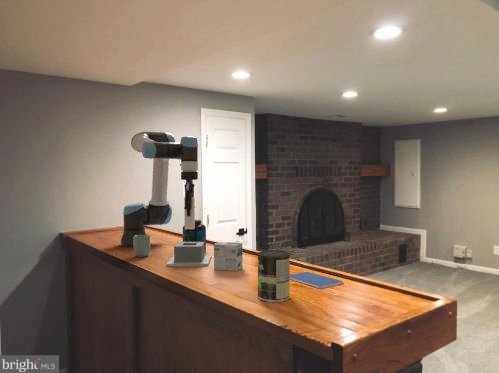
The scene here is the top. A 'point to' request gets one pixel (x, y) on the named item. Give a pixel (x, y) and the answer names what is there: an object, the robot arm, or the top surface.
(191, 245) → the socket block
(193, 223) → the peg
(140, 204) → the robot arm
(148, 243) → the cup
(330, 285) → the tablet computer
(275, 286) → the coffee can
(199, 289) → the top surface
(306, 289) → the top surface
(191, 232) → the container
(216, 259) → the light bulb box
